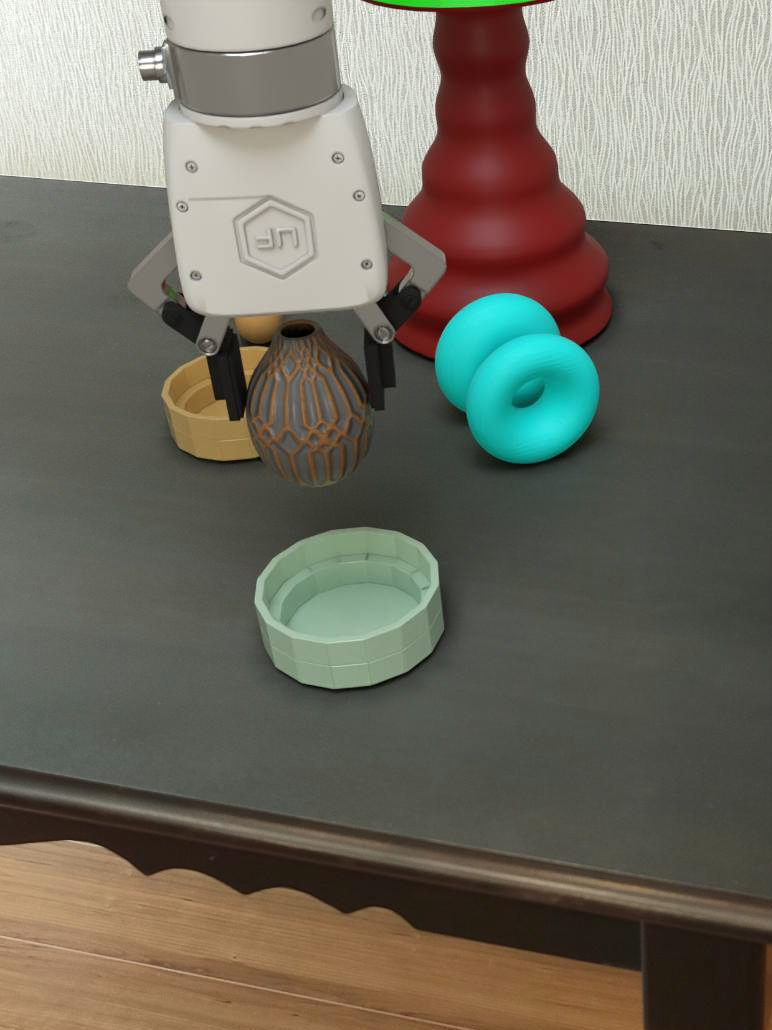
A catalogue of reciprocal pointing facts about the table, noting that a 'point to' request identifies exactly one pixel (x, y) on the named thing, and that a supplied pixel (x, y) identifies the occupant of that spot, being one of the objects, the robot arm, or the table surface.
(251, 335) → the figurine
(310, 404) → the vase
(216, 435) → the far bowl
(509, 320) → the donuts
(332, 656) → the near bowl
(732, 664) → the table surface
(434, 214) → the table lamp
